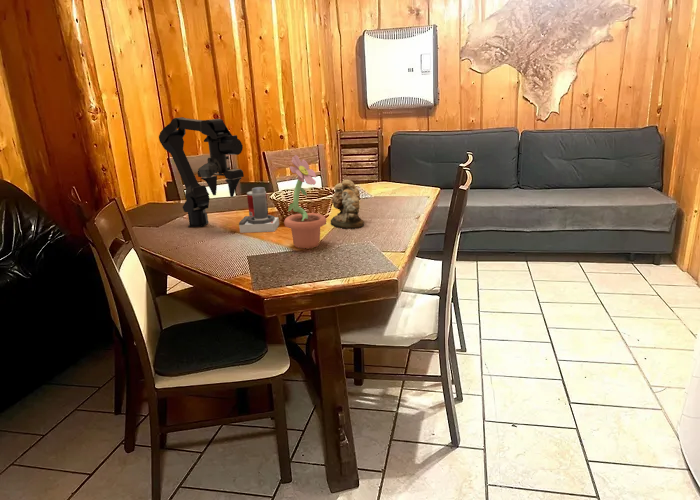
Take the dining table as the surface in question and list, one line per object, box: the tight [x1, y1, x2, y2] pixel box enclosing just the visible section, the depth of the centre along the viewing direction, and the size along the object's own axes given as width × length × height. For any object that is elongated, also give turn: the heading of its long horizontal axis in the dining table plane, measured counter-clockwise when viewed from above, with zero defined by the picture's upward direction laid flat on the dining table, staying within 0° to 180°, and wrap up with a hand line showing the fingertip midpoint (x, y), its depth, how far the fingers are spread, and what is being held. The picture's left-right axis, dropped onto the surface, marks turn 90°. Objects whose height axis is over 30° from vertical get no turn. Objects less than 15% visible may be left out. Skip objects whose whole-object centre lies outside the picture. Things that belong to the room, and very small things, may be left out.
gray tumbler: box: [251, 186, 268, 220], centre depth 188 cm, size 5×5×13 cm
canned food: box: [246, 190, 269, 217], centre depth 206 cm, size 8×8×11 cm
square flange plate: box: [238, 214, 280, 234], centre depth 190 cm, size 13×10×4 cm
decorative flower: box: [283, 154, 327, 250], centre depth 162 cm, size 15×14×30 cm
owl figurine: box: [330, 179, 365, 230], centre depth 190 cm, size 18×12×17 cm, turn 26°
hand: (223, 196), depth 189 cm, fingers open, 9 cm apart
